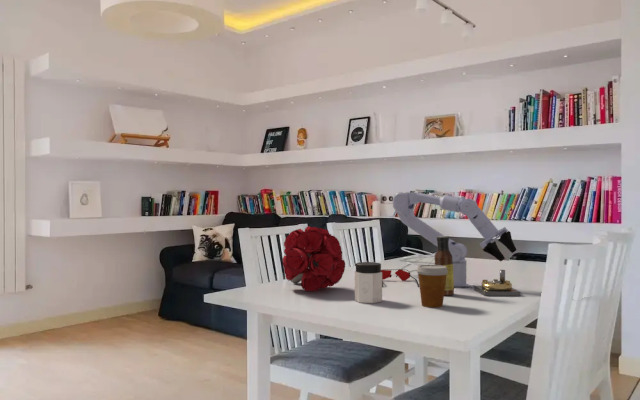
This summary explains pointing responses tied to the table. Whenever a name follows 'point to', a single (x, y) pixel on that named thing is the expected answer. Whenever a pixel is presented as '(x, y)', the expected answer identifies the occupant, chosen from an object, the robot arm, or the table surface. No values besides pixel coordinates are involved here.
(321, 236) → the bouquet
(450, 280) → the sauce bottle
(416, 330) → the table surface
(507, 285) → the gold round piece
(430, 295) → the disposable coffee cup
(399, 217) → the robot arm
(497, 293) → the base plate
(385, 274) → the glasses
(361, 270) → the jar
